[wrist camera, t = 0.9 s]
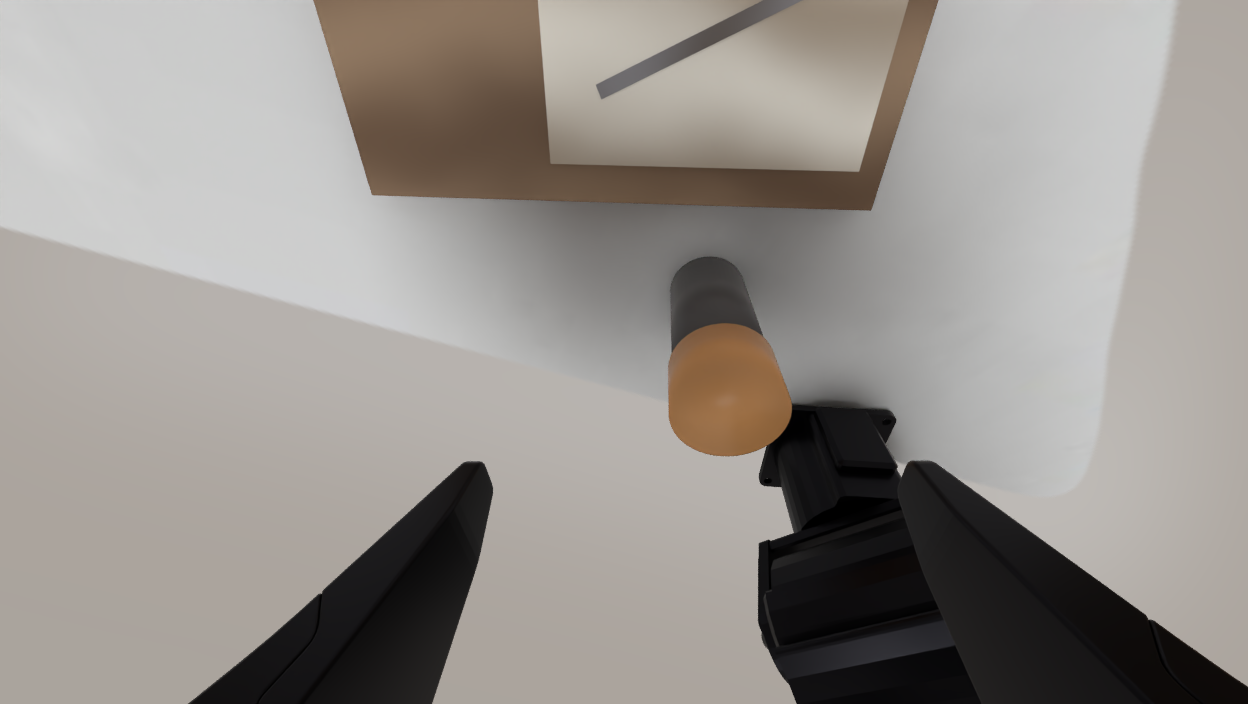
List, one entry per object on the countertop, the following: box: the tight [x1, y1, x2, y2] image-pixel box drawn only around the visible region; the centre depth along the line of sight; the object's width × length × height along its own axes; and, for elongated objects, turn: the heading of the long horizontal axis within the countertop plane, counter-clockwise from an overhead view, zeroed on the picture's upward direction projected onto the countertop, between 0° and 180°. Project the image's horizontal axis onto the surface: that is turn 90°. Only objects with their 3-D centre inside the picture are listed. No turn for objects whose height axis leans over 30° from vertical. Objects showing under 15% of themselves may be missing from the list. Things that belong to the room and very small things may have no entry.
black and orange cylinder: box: [668, 257, 792, 456], centre depth 18 cm, size 4×4×9 cm
